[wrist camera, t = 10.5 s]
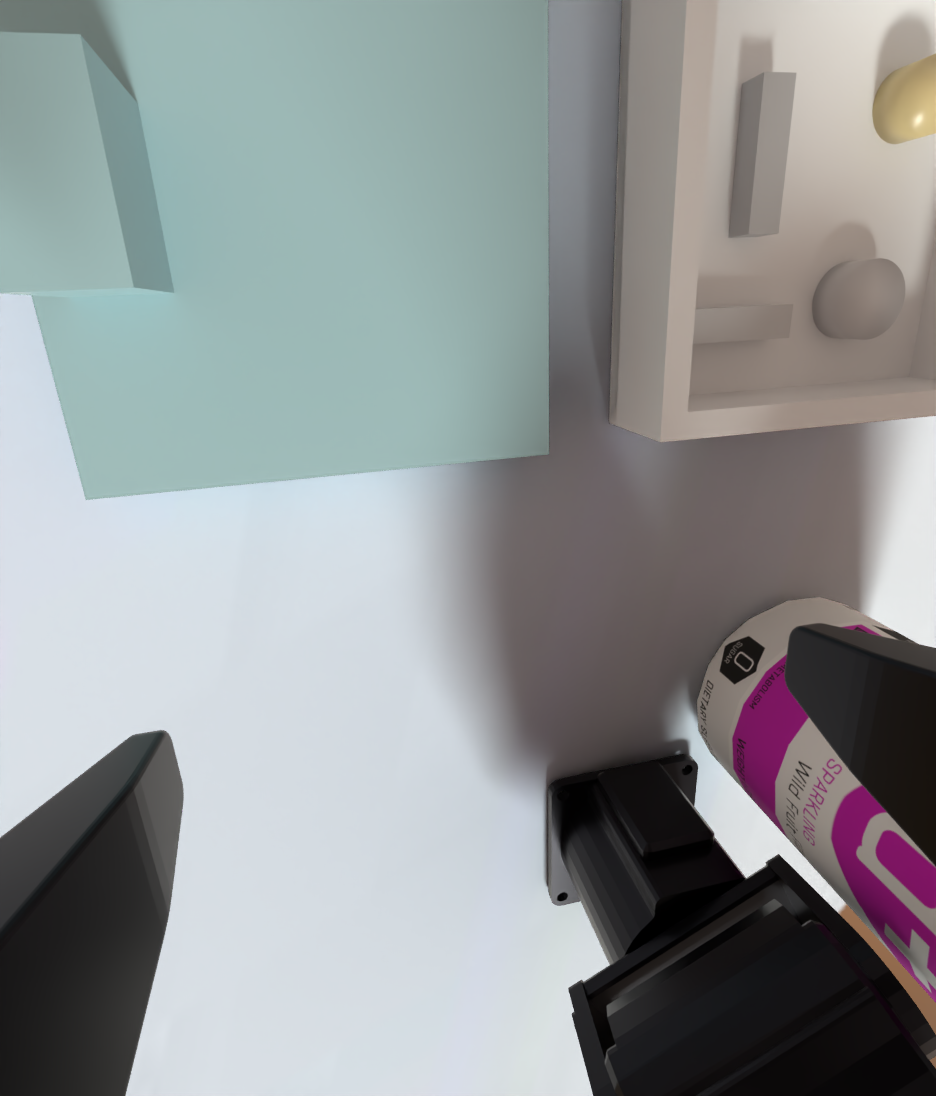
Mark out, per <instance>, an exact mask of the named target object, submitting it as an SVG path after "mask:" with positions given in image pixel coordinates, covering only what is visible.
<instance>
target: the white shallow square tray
mask: <svg viewBox="0 0 936 1096" xmlns="http://www.w3.org/2000/svg"><path fill="white" fill-rule="evenodd" d="M927 416H936V0H622V18H621V50H620V82H619V115H618V147H617V179H616V211H615V243H614V275H613V307H612V339H611V371H610V403H609V423H610V424H613V425H615V426H618V427H621V428H623V429H626V430H629V431H631V432H634V433H637V434H639V435H642V436H645V437H647V438H650V439H653V440H655V441H658V442H670V441H680V440H690V439H700V438H711V437H721V436H731V435H742V434H752V433H762V432H773V431H783V430H793V429H803V428H814V427H824V426H834V425H845V424H855V423H865V422H876V421H886V420H896V419H906V418H917V417H927Z"/></svg>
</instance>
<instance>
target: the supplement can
mask: <svg viewBox="0 0 936 1096" xmlns="http://www.w3.org/2000/svg"><path fill="white" fill-rule="evenodd" d="M813 623H824V624H828V625H833V626H838V627H842V628H847V629H851V630H856V631H860V632H865V633H869V634H874V635H878V636H883V637H887V638H892V639H897V640H901V641H906V642H910V643H915V644H917V643H916V642H914V641H912V640H910V639H908V638H906V637H905V636H903V635H901V634H899V633H897V632H895V631H894V630H892V629H890V628H888V627H886V626H884V625H883V624H881V623H879V622H877V621H875V620H874V619H872V618H870V617H868V616H866V615H864V614H863V613H861V612H859V611H857V610H855V609H853V608H852V607H850V606H848V605H846V604H843V603H839V602H835V601H832V600H828V599H825V598H821V597H815V598H806V599H798V600H790V601H786V602H784V603H782V604H780V605H777V606H775V607H773V608H771V609H769V610H767V611H765V612H762V613H760V614H758V615H756V616H754V617H752V618H750V619H748V620H747V621H746V622H745V623H744V624H743V625H741V626H740V627H739V628H738V629H737V630H736V631H734V632H733V633H732V634H731V635H730V636H729V637H728V638H726V639H725V641H724V642H723V644H722V645H721V647H720V648H719V650H718V651H717V653H716V654H715V656H714V657H713V659H712V660H711V662H710V663H709V665H708V668H707V671H706V674H705V677H704V681H703V684H702V687H701V690H700V694H699V697H698V700H697V713H698V730H699V733H700V734H701V736H702V738H703V740H704V742H705V744H706V745H707V747H708V749H709V751H710V753H711V754H712V755H713V756H714V757H715V759H716V760H717V761H718V762H719V763H720V764H721V765H722V766H723V767H724V769H725V770H726V771H727V772H728V773H729V774H730V775H731V776H732V777H733V779H734V780H735V781H736V782H737V783H738V784H739V785H740V786H741V787H742V788H743V790H744V791H745V792H746V793H747V794H748V795H749V796H750V797H751V798H752V800H753V801H754V802H755V803H756V804H757V805H758V806H759V807H760V808H761V809H762V811H763V812H764V813H765V814H766V815H767V816H768V817H769V818H770V819H771V821H772V822H773V823H774V824H775V825H776V826H777V827H778V828H779V829H780V831H781V832H782V833H783V834H784V835H785V836H786V837H787V838H788V839H789V840H790V842H791V843H792V844H793V845H794V846H795V847H796V848H797V849H798V850H799V852H800V853H801V854H802V855H803V856H804V857H805V858H806V859H807V860H808V862H809V863H810V864H811V865H812V866H813V867H814V868H815V869H816V870H817V871H818V873H819V874H820V875H821V876H822V877H823V878H824V879H825V880H826V881H827V883H828V884H829V885H830V886H831V887H832V888H833V889H834V890H835V891H836V893H837V894H838V895H839V896H840V897H841V898H842V899H843V900H844V901H845V902H846V904H847V905H848V906H849V907H850V908H851V909H852V910H853V911H854V912H855V913H856V915H857V916H858V917H859V918H860V919H861V920H862V921H863V922H864V923H865V925H866V926H867V927H868V928H869V929H870V930H871V931H872V932H873V933H874V934H875V936H876V937H877V938H878V939H879V940H880V941H881V942H882V943H883V944H884V946H885V947H886V948H887V949H888V950H889V951H890V952H891V953H892V954H893V956H894V957H895V958H896V959H897V960H898V961H899V962H900V963H901V964H902V966H903V967H904V968H905V969H906V970H907V971H908V972H909V973H910V974H911V976H912V977H914V979H915V980H916V981H917V982H918V983H919V984H920V985H921V986H922V988H923V989H924V990H925V991H926V992H927V993H928V994H929V995H930V997H931V998H932V999H933V1000H934V1001H935V1002H936V867H935V865H934V864H933V863H932V862H931V861H930V860H929V859H928V858H927V857H926V855H925V854H924V853H923V852H922V851H921V850H920V849H919V848H918V847H917V845H916V844H915V843H914V842H913V841H912V840H911V839H910V838H909V837H908V835H907V834H906V833H905V832H904V831H903V830H902V829H901V828H900V827H899V825H898V824H897V823H896V822H895V821H894V820H893V819H892V818H891V817H890V816H889V814H888V813H887V812H886V811H885V810H884V809H883V808H882V807H881V806H880V804H879V803H878V802H877V801H876V800H875V799H874V798H873V797H872V796H871V794H870V793H869V792H868V791H867V790H866V789H865V788H864V787H863V786H862V784H861V783H860V782H859V781H858V780H857V779H856V778H855V776H854V775H853V774H852V773H851V772H850V771H849V769H848V768H847V767H846V766H845V764H844V763H843V762H842V760H841V759H840V758H839V757H838V755H837V754H836V753H835V751H834V750H833V749H832V747H831V746H830V745H829V743H828V742H827V741H826V739H825V738H824V737H823V735H822V734H821V733H820V731H819V730H818V729H817V727H816V726H815V725H814V723H813V722H812V721H811V719H810V718H809V717H808V715H807V714H806V713H805V711H804V710H803V709H802V707H801V706H800V705H799V703H798V702H797V701H796V699H795V698H794V697H793V695H792V694H791V693H790V691H789V690H788V688H787V685H786V682H785V677H784V671H785V663H786V656H787V648H788V641H789V635H790V633H791V631H792V630H793V629H794V628H795V627H797V626H801V625H807V624H813Z"/></svg>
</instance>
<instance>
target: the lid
mask: <svg viewBox="0 0 936 1096" xmlns="http://www.w3.org/2000/svg"><path fill="white" fill-rule="evenodd" d="M0 294H17V295H32V299H33V303H34V307H35V310H36V314H37V318H38V322H39V325H40V329H41V333H42V337H43V340H44V344H45V348H46V352H47V355H48V359H49V363H50V367H51V370H52V374H53V378H54V382H55V386H56V389H57V393H58V397H59V401H60V404H61V408H62V412H63V416H64V419H65V423H66V427H67V431H68V434H69V438H70V442H71V446H72V449H73V453H74V457H75V461H76V464H77V468H78V472H79V476H80V479H81V483H82V487H83V491H84V495H85V498H86V500H90V499H100V498H110V497H120V496H131V495H141V494H151V493H161V492H172V491H182V490H192V489H202V488H212V487H223V486H233V485H243V484H253V483H263V482H274V481H284V480H294V479H304V478H314V477H325V476H335V475H345V474H355V473H365V472H376V471H386V470H396V469H406V468H416V467H427V466H437V465H447V464H457V463H467V462H478V461H488V460H498V459H508V458H518V457H529V456H539V455H549V194H548V0H0Z"/></svg>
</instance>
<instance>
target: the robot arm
mask: <svg viewBox="0 0 936 1096" xmlns="http://www.w3.org/2000/svg"><path fill="white" fill-rule="evenodd" d="M784 677H785V682H786V685H787V688H788V690H789V691H790V693H791V694H792V695H793V697H794V698H795V699H796V701H797V702H798V703H799V705H800V706H801V707H802V709H803V710H804V711H805V713H806V714H807V715H808V717H809V718H810V719H811V721H812V722H813V723H814V725H815V726H816V727H817V729H818V730H819V731H820V733H821V734H822V735H823V737H824V738H825V739H826V741H827V742H828V743H829V745H830V746H831V747H832V749H833V750H834V751H835V753H836V754H837V755H838V757H839V758H840V759H841V760H842V762H843V763H844V764H845V766H846V767H847V768H848V769H849V771H850V772H851V773H852V774H853V775H854V776H855V778H856V779H857V780H858V781H859V782H860V783H861V784H862V786H863V787H864V788H865V789H866V790H867V791H868V792H869V793H870V794H871V796H872V797H873V798H874V799H875V800H876V801H877V802H878V803H879V804H880V806H881V807H882V808H883V809H884V810H885V811H886V812H887V813H888V814H889V816H890V817H891V818H892V819H893V820H894V821H895V822H896V823H897V824H898V825H899V827H900V828H901V829H902V830H903V831H904V832H905V833H906V834H907V835H908V837H909V838H910V839H911V840H912V841H913V842H914V843H915V844H916V845H917V847H918V848H919V849H920V850H921V851H922V852H923V853H924V854H925V855H926V857H927V858H928V859H929V860H930V861H931V862H932V863H933V864H934V865H935V867H936V648H933V647H928V646H924V645H919V644H915V643H910V642H906V641H901V640H897V639H892V638H887V637H883V636H878V635H874V634H869V633H865V632H860V631H856V630H851V629H847V628H842V627H838V626H833V625H828V624H824V623H813V624H807V625H801V626H797V627H795V628H794V629H793V630H792V631H791V633H790V635H789V641H788V648H787V656H786V663H785V671H784ZM685 766H686V767H685ZM684 767H685V768H684ZM697 772H698V765H697V763H696V762H695V761H694V759H693V758H692V757H691V756H690V755H688V754H682V755H677V756H672V757H667V758H662V759H657V760H652V761H647V762H642V763H637V764H632V765H627V766H622V767H617V768H612V769H607V770H602V771H597V772H592V773H587V774H582V775H577V776H572V777H567V778H562V779H558V780H556V781H554V782H553V783H552V784H551V785H550V787H549V790H548V892H549V895H550V898H551V900H552V903H553V904H555V905H558V906H561V905H566V904H570V903H574V902H579V901H581V903H582V905H583V907H584V909H585V912H586V914H587V916H588V918H589V920H590V923H591V925H592V927H593V929H594V931H595V933H596V936H597V938H598V940H599V942H600V944H601V947H602V949H603V951H604V953H605V955H606V958H607V960H608V962H609V964H610V965H609V966H608V967H606V968H605V969H603V970H602V971H600V972H598V973H597V974H595V975H594V976H592V977H591V978H589V979H587V980H586V981H584V982H583V981H582V980H580V981H579V982H577V983H576V984H574V985H572V986H571V987H569V988H568V989H569V993H570V997H571V1001H572V1004H573V1008H574V1012H573V1013H572V1017H573V1021H574V1024H575V1025H574V1026H575V1029H576V1032H577V1036H578V1039H579V1043H580V1047H581V1051H582V1055H583V1058H584V1062H585V1066H586V1070H587V1073H588V1077H589V1081H590V1085H591V1088H592V1092H593V1096H936V1069H935V1067H934V1066H933V1065H932V1063H931V1062H930V1061H929V1060H930V1059H932V1058H934V1057H935V1056H936V1035H935V1033H934V1032H933V1030H932V1028H931V1027H930V1025H929V1023H928V1022H927V1020H926V1019H925V1017H924V1016H923V1014H922V1013H921V1011H920V1010H919V1008H918V1007H917V1005H916V1004H915V1003H914V1001H913V1000H912V999H911V997H910V996H909V994H908V993H907V992H906V990H905V989H904V988H903V986H902V985H901V984H900V983H899V981H898V980H897V979H896V977H895V976H894V975H893V974H892V972H891V971H890V970H889V968H888V967H887V966H886V965H885V964H884V962H883V961H882V960H881V959H880V958H879V956H878V955H877V954H876V953H875V952H874V950H873V949H872V948H871V947H870V946H869V945H868V944H867V942H866V941H865V940H864V939H863V938H862V937H861V936H860V935H859V934H858V933H857V932H856V931H855V930H854V929H853V928H852V927H851V926H850V925H849V924H848V923H847V922H846V921H845V920H844V919H843V918H842V917H841V916H840V915H839V914H838V913H837V912H836V911H835V910H834V909H833V908H832V907H831V906H830V905H829V904H828V903H827V902H826V901H825V900H824V899H823V898H822V897H821V896H820V895H819V894H818V893H817V892H816V891H815V890H814V889H813V888H812V887H811V886H810V885H809V884H808V883H807V882H806V881H805V880H804V879H803V878H802V877H801V876H800V875H799V874H798V873H797V872H796V871H795V870H794V869H793V868H792V867H791V866H790V865H789V864H788V863H787V862H786V861H785V860H784V859H783V858H782V857H781V856H780V855H779V854H778V855H776V856H775V857H773V858H772V859H770V860H769V861H767V862H766V866H765V867H763V868H762V869H760V870H758V871H757V872H755V873H754V874H752V875H751V876H749V877H748V878H746V877H745V876H744V875H743V873H742V872H741V871H740V869H739V868H738V867H737V866H736V864H735V863H734V862H733V860H732V859H731V858H730V856H729V855H728V854H727V852H726V851H725V850H724V849H723V847H722V846H721V845H720V843H719V842H718V841H717V839H716V838H715V837H714V833H713V831H712V829H711V828H710V827H709V825H708V824H707V823H706V821H705V820H704V819H703V818H702V816H701V815H700V814H699V812H698V811H697V810H696V809H695V807H694V803H695V793H696V782H697ZM563 790H565V791H564V792H563V793H561V794H559V793H560V792H561V791H563ZM182 808H183V783H182V779H181V775H180V771H179V767H178V763H177V759H176V755H175V751H174V747H173V743H172V739H171V737H170V735H169V734H168V733H167V732H166V731H164V730H159V731H153V732H147V733H141V734H135V735H132V736H131V737H129V738H128V739H127V740H125V741H124V742H123V743H121V744H120V745H119V746H118V747H116V748H115V749H114V750H112V751H111V752H110V753H109V754H107V755H106V756H105V757H103V758H102V759H101V760H100V761H98V762H97V763H96V764H94V765H93V766H92V767H91V768H89V769H88V770H87V771H85V772H84V773H83V774H82V775H80V776H79V777H78V778H76V779H75V780H74V781H73V782H71V783H70V784H69V785H67V786H66V787H65V788H64V789H62V790H61V791H60V792H58V793H57V794H56V795H55V796H53V797H52V798H51V799H49V800H48V801H47V802H46V803H44V804H43V805H42V806H40V807H39V808H38V809H37V810H35V811H34V812H33V813H31V814H30V815H29V816H28V817H26V818H25V819H24V820H22V821H21V822H20V823H19V824H17V825H16V826H15V827H13V828H12V829H11V830H10V831H8V832H7V833H6V834H4V835H3V836H2V837H1V838H0V1096H125V1095H126V1091H127V1087H128V1083H129V1079H130V1075H131V1070H132V1066H133V1062H134V1058H135V1054H136V1050H137V1046H138V1042H139V1038H140V1034H141V1030H142V1026H143V1021H144V1017H145V1013H146V1009H147V1005H148V1001H149V997H150V993H151V989H152V985H153V981H154V976H155V972H156V968H157V964H158V960H159V956H160V952H161V948H162V944H163V940H164V935H165V931H166V926H167V922H168V917H169V911H170V904H171V897H172V889H173V881H174V873H175V865H176V857H177V849H178V841H179V833H180V824H181V816H182Z"/></svg>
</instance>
